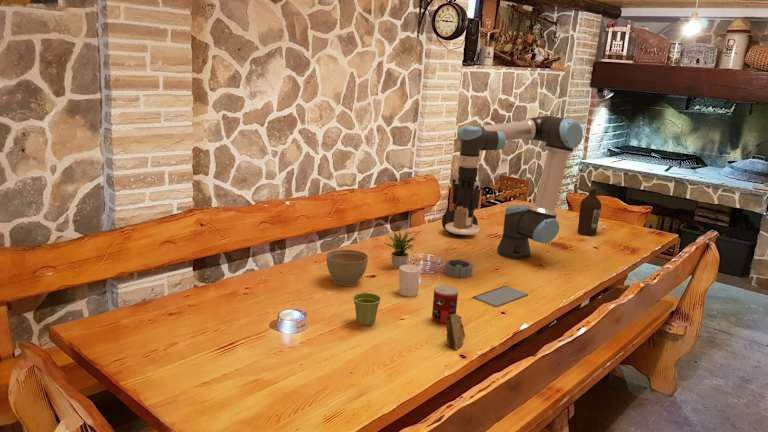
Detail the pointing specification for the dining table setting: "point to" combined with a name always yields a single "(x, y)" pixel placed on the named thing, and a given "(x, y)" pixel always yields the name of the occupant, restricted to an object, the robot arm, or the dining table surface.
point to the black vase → (449, 217)
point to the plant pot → (366, 308)
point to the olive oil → (589, 214)
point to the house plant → (400, 249)
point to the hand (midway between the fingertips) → (463, 223)
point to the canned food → (444, 303)
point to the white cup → (409, 280)
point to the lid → (462, 224)
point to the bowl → (458, 268)
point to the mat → (500, 296)
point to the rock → (454, 331)
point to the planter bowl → (346, 266)
